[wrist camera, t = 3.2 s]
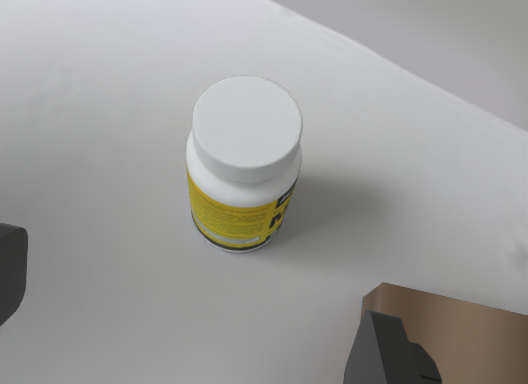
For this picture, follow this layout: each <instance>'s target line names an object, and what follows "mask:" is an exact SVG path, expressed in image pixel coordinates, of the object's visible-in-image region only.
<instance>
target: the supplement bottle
mask: <svg viewBox="0 0 528 384" xmlns="http://www.w3.org/2000/svg"><path fill="white" fill-rule="evenodd" d="M302 127H303V124H302V116H301V112H300V109H299V107H298V105H297V103H296V101H295V100H294V98H293V97H292V96H291V95H290V94H289V93H288V92H287V91H286V90H285V89H284V88H282V87H281V86H279V85H278V84H276V83H274V82H272V81H270V80H267V79H264V78H261V77H255V76H235V77H230V78H227V79H224V80H221V81H219V82H217V83H215V84H213V85H212V86H210V87H209V88H208V89H207V90H206V91H205V92H204V93H203V94H202V95H201V96H200V98H199V99H198V101H197V103H196V105H195V108H194V111H193V117H192V130H191V132H190V135H189V137H188V140H187V145H186V167H187V175H188V184H189V193H190V203H191V213H192V218H193V222H194V224H195V227H196V229H197V231H198V232H199V234H200V235H201V236H202V237H203V238H204V239H205V240H206V241H207V242H208V243H209V244H211V245H212V246H214V247H216V248H218V249H221V250H224V251H227V252H234V253H241V252H248V251H252V250H255V249H258V248H260V247H262V246H263V245H265V244H266V243H268V242H269V241H270V240H271V239H272V238H273V237H274V236H275V234H276V233H277V231H278V230H279V228H280V226H281V223H282V221H283V218H284V215H285V212H286V209H287V206H288V203H289V201H290V198H291V195H292V192H293V189H294V186H295V183H296V181H297V178H298V175H299V172H300V167H301V147H300V138H301V134H302Z"/></svg>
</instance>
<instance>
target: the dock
mask: <svg viewBox="0 0 528 384" xmlns="http://www.w3.org/2000/svg"><path fill="white" fill-rule="evenodd" d="M368 309H369V310H373V311H377V312H381V313H386V314H390V315H394V316H399V317H400V318H401V320H402V323H403V326H404V329H405V332H406V335H407V338H408V341H409V342H413V343H417V344H420V345H421V346H422V347H423V348H424V350H425V351H426V352H427V353H428V354H429V355H430V357H431V358H432V359H433V360H434V361H435V363H436V365H437V368H438V371H439V373H440V376H441V378H442V384H528V316H527V315H522V314H518V313H514V312H509V311H505V310H501V309H496V308H492V307H488V306H484V305H479V304H475V303H471V302H466V301H462V300H458V299H453V298H449V297H445V296H440V295H436V294H432V293H427V292H423V291H419V290H414V289H410V288H406V287H401V286H397V285H393V284H388V283H384V282H383V283H381V284H380V285H379V286H377V287H376V288H375V289H374V290H372V291H371V292H370V293H368V294H367V295H366V296H364V297H363V304H362V313H361V320H362V317H363V315H364V313H365V311H366V310H368ZM360 323H361V321H360Z"/></svg>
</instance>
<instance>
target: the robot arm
mask: <svg viewBox="0 0 528 384" xmlns="http://www.w3.org/2000/svg"><path fill="white" fill-rule="evenodd" d="M27 250H28V234H27V231H26V230H25V229H24V228H21V227H17V226H13V225H9V224H4V223H0V326H1V325H2V324H3V323H4V322H5V321H6V320H7V319H8V318H9V317H10V316H12V315H13V314H14V312H15V311H16V310H17V309H18V307H19V305H20V303H21V301H22V299H23V296H24V293H25V288H26V271H27ZM343 384H442V378H441V376H440V373H439V371H438V368H437V365H436V363H435V361H434V360H433V359H432V358H431V357H430V355H429V354H428V353H427V352H426V351H425V350H424V348H423V347H422V346H421V345H420V344H417V343H413V342H409V341H408V338H407V335H406V332H405V329H404V326H403V323H402V320H401V318H400V317H399V316H394V315H390V314H386V313H381V312H377V311H373V310H369V309H368V310H366V311H365V313H364V315H363V317H362V320H361V323H360V325H359V328H358V331H357V334H356V337H355V340H354V343H353V346H352V349H351V352H350V355H349V358H348V361H347V364H346V368H345V373H344V381H343Z"/></svg>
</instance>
